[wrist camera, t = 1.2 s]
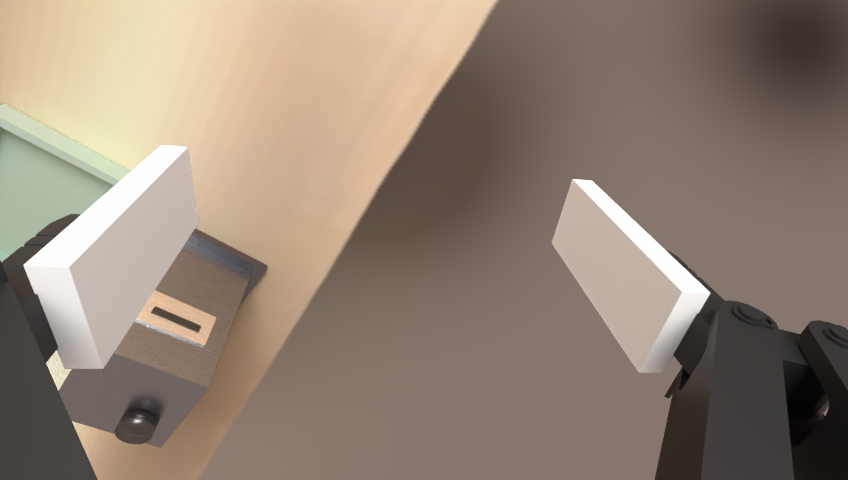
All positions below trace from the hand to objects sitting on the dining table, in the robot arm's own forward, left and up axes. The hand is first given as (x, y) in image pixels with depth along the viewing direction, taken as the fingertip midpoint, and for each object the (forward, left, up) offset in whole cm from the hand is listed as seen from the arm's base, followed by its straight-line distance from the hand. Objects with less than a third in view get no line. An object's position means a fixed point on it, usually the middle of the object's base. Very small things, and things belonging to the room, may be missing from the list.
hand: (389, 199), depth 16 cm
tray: (-15, -27, -24) cm, 39 cm away
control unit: (-2, -27, -24) cm, 36 cm away
